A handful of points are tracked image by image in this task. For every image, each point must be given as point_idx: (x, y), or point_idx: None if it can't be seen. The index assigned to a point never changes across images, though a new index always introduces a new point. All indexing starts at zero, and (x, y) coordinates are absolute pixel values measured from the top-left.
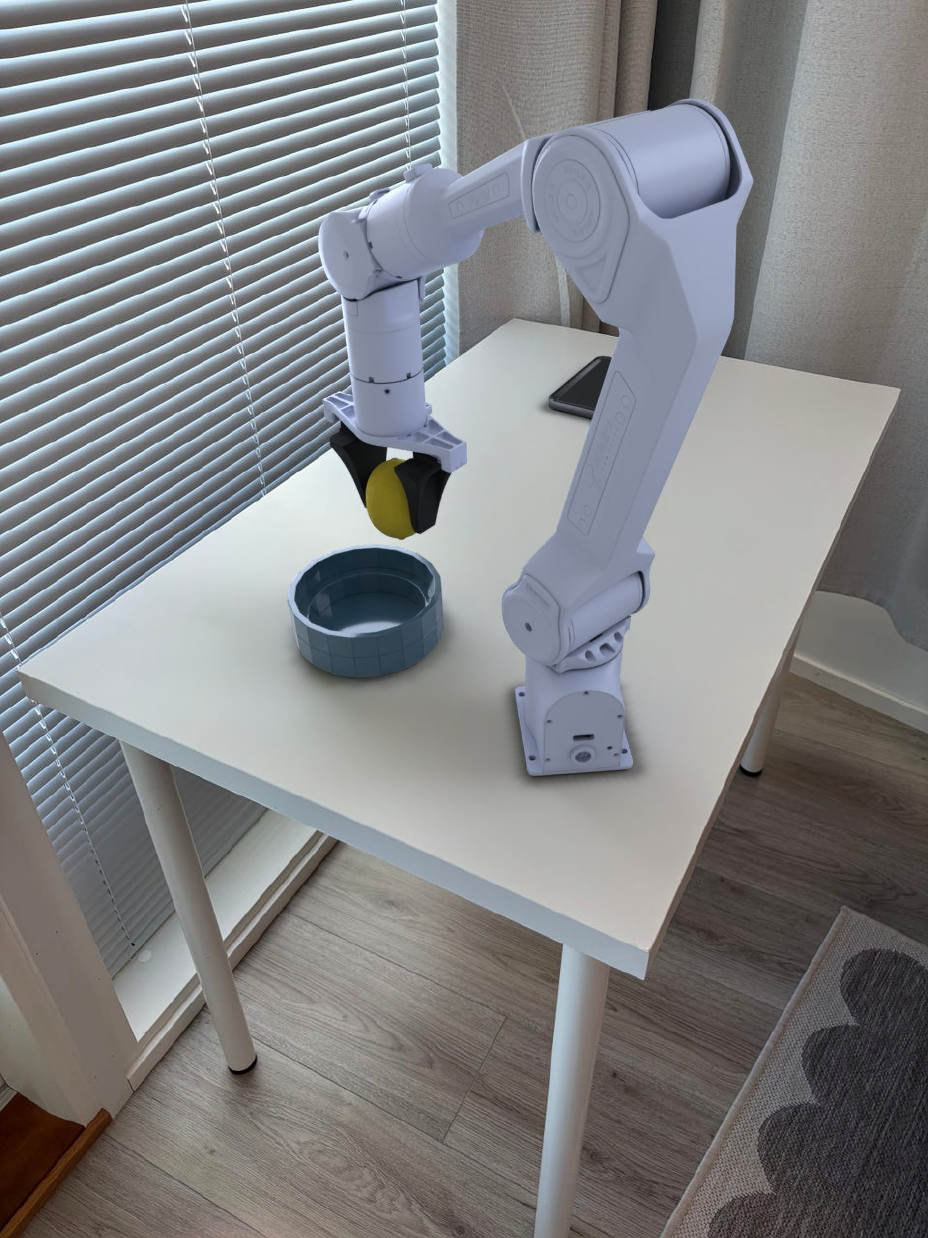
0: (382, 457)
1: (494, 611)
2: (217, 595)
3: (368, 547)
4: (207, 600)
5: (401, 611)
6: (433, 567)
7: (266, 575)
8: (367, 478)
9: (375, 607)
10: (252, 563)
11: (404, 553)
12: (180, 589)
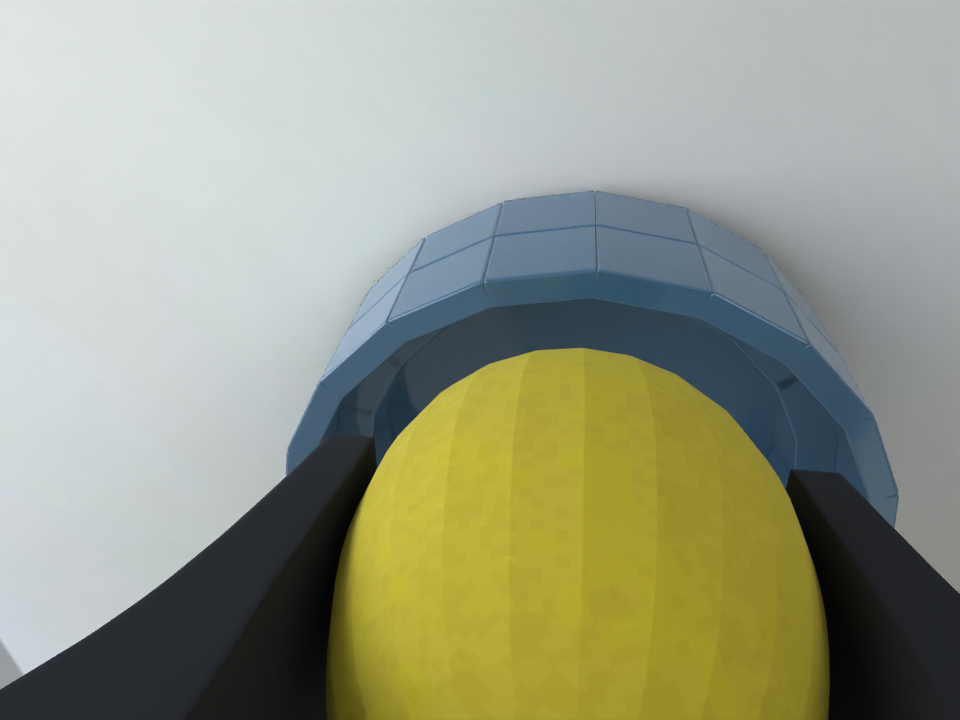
0: (237, 689)
1: (931, 66)
2: (102, 516)
3: (377, 360)
4: (106, 540)
5: (612, 319)
6: (740, 312)
7: (97, 392)
8: (305, 711)
9: (518, 351)
10: (9, 375)
11: (541, 301)
12: (16, 544)
